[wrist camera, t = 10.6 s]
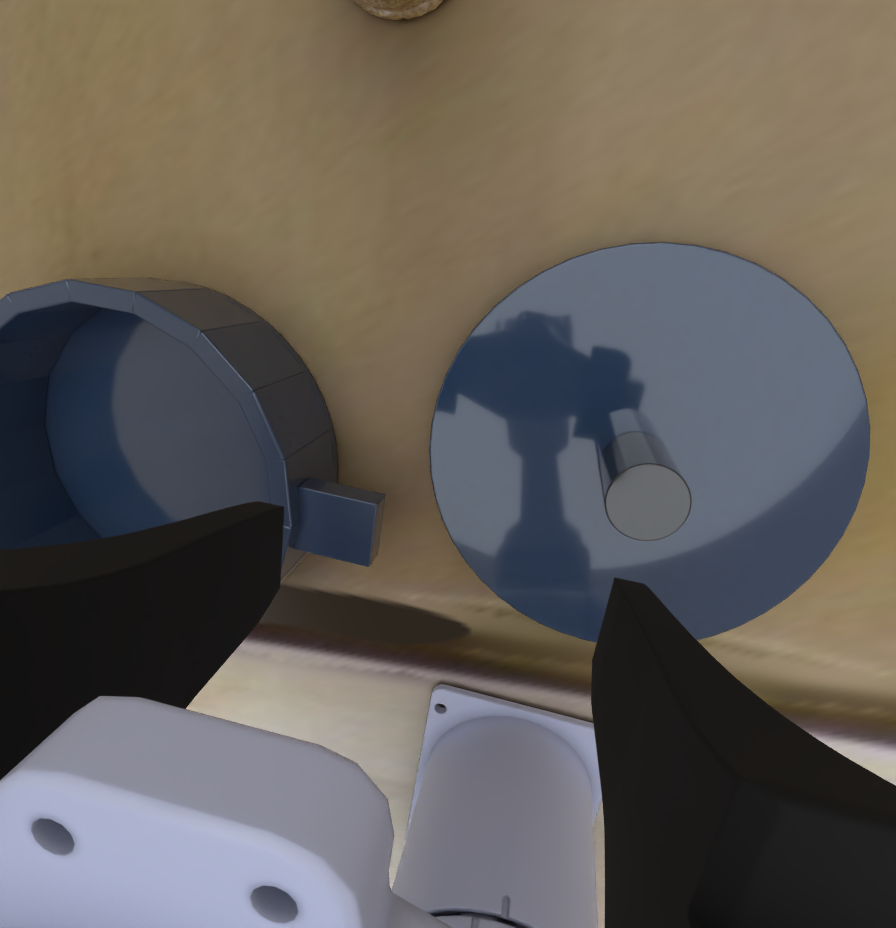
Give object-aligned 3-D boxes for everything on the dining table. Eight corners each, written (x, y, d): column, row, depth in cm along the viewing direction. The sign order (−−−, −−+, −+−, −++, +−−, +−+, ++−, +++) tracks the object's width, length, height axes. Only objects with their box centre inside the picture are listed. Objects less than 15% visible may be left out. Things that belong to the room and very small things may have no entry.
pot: (382, 638, 26) (346, 709, 22) (0, 541, 28) (-98, 588, 24) (426, 326, 22) (392, 340, 17) (-30, 242, 24) (-157, 236, 20)
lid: (771, 670, 23) (820, 763, 19) (411, 583, 25) (378, 650, 21) (929, 284, 18) (1043, 288, 14) (469, 211, 20) (443, 194, 16)
